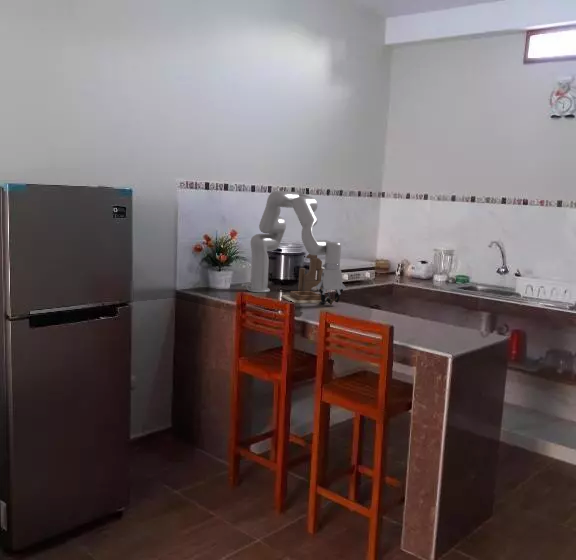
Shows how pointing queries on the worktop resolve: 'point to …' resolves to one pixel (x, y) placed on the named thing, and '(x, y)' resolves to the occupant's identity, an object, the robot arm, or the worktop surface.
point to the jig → (303, 297)
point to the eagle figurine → (329, 300)
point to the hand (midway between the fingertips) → (329, 301)
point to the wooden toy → (310, 274)
